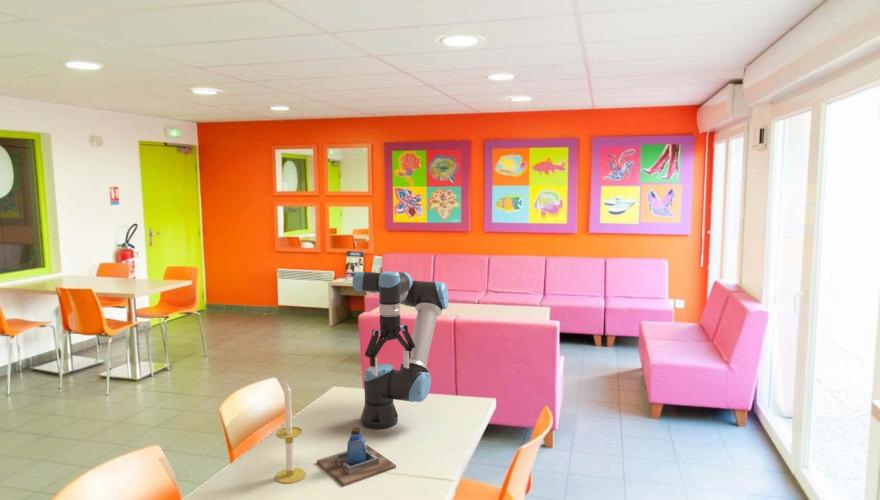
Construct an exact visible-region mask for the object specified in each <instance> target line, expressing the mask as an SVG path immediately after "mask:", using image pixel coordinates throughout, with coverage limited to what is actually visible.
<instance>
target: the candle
mask: <svg viewBox="0 0 880 500" xmlns="http://www.w3.org/2000/svg"><path fill="white" fill-rule="evenodd" d="M283 395H284V396H283V397H284V415H285V416H284V421H285V425H284V426H285V427H283V428H280V429H278V430H277V431H276V432H275V436H276V437H277V438H278V439H282V440H283V439H285V458H286V459H285V462H286V464H285V465H286V467H285V468H284V469H282V470H280V471H278V472H276V474H275V477H274V479H275V481H276V482H277V481H278V483H280V484H285V483H289V484H294V483H298V482H300V481H302V480H304V479H305V477H306V476H307V475H306V474H307V472H306V471H305V470H304V469H302V468H298V467H295V460H294V459H295V453H294V438H297V437H299V436H301V435H302V433H303V429H302V428H300V427H296V426H293V416H292V412H293V411H292V389H291V388H290V386H289V383H286V386H285V389H284V390H283Z"/></svg>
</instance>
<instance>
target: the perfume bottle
mask: <svg viewBox="0 0 880 500" xmlns="http://www.w3.org/2000/svg"><path fill="white" fill-rule="evenodd" d="M361 429H362V428H361V427H353V428H351V432H350V436H349V439H348V441H347V449H346V451H347V464H348V465H349V466H353V465H356V464H359V463H362V462H365V461H366V445H367V443H366V439H365V438H364V436H363V435H362V430H361Z"/></svg>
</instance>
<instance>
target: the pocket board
mask: <svg viewBox="0 0 880 500" xmlns="http://www.w3.org/2000/svg"><path fill="white" fill-rule="evenodd" d="M316 464H317V465H319V467H321V468H322V469H323V470H324V471H326V473H328V474H329V476H331V477H333V478H334V479H335V480H336V481H337V482H339V483H340V485H342V486H343V487H346V486H349V485H352V484H355V483H357V482H360V481H363V480H365V479H369V478H371V477H374V476H377V475H380V474H383V473H385V472H388V471H391V470H394V469H397V464H396V463H394V462H393V461H391V460H390V459H388V458H386V457H385V456H384V455H382V454H381V453H379V452H378V451H376V449H373V448H372V447H370V445H368V444H366V461H365V462H362V463H359V464H356V465H353V466H349V465H348V464H347V450H345V451H342V452H339V453H336V454H331V455H329V456H326V457H323V458H320V459H316Z"/></svg>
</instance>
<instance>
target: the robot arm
mask: <svg viewBox="0 0 880 500" xmlns="http://www.w3.org/2000/svg"><path fill="white" fill-rule="evenodd" d="M352 287H353V289H354V291H356V292H366V293H370V294H375V295H378V296H379V297H378V299H379V303H378V304H379V309H378V311H379V327H380V328H379V329H372V331H371V338H370V340H369V342H368V345H367V346H366V347H367V348H366V349H365V353H364V356H365V357H367V358H368V359H369V366H368V367H367V368H366V369H365V370H364V374H363V375H364V377H363V383H364V386H363V387H364V388H363V389H364V390H363V391H364V405H363V408H362V412H361V415H360V424H361V425H362V426H363V427H365V428H368V429H375V430H379V429H380V430H381V429H387V428H391V427H393V426H396V424H398V421H399V416H398V412H397V409H396V406H395V404H394V400H395V401H404V402H411V403H414V402H415V403H420V402H421V403H422V402H423V401H424V400H426V398H427V397H428V395H429V393H430V390H431V385H432V376H431V374H430V373H429V369H428V367H427V363H428V360H429V355H430V350H431V346H432V341H433V337H434V332H435V328H436V323H437V318H438V317H440V316H441V314H442V313H443V310H447V309H448V306H449V291H448V287H447V285H446V283H444V282H441V281H429V280H427V281H426V280H413V278H412V276H411V274H409V273H408V272H406V271H399V272H398V271H392V270H391V271H387V270H386V271H383V272H373V271H371V272H369V271H357V272H355V273H354V275H353V277H352ZM401 305H403V306H407V307H410V308H415V310H416V311H417V314H416V318H415V322H414V326H413V330H412V333H411V334H410V332H409V330H408V329H409V327H408V324H407V325H406V324H404V323H402V324H401ZM400 332H402V334H403V336H404V338H405V339H404V338H403V336H402V335H401V334H400ZM391 340H393V341H394V340H397V341H398V343H399V344H400V345H401V346H402V347H403V350H402V354H403V356H402V358H403V359H402V360H403V362H402V363H401V364H400V367H399V369H394V366H393V365H392V364H391V363H390V364H389V363H381V364H378V357H377V355H378V353H379V352H380V350H382V348H383V346H384V344H385V343H387V342H388V341H391Z"/></svg>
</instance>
